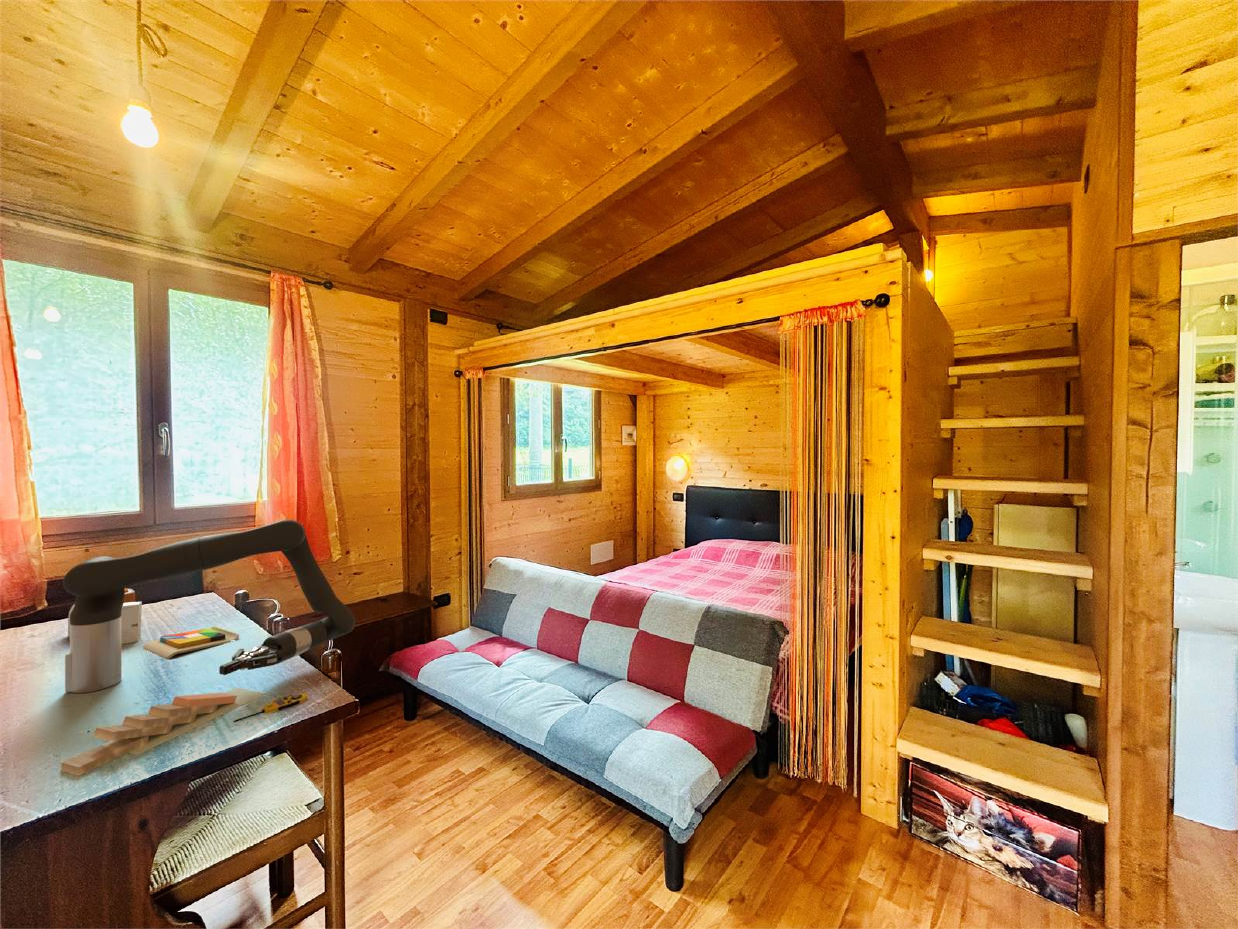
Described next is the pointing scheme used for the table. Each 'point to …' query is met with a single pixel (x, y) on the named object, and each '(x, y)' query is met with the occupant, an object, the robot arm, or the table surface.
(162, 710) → the domino
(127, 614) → the skincare box
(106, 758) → the domino
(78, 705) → the table surface
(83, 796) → the table surface
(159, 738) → the mat
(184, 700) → the domino
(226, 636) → the wooden puzzle
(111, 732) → the domino
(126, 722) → the domino
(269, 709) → the yellow screwdriver
